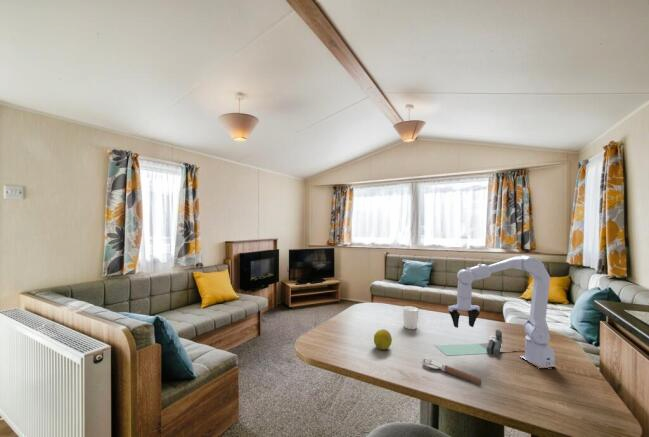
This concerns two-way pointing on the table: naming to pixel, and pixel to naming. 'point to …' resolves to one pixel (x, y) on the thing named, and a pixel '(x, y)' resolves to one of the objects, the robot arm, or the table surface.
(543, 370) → the table surface
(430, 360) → the brown handled opener
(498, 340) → the can opener
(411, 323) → the white cup
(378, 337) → the lemon
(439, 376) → the table surface
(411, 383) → the table surface
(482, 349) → the mat
